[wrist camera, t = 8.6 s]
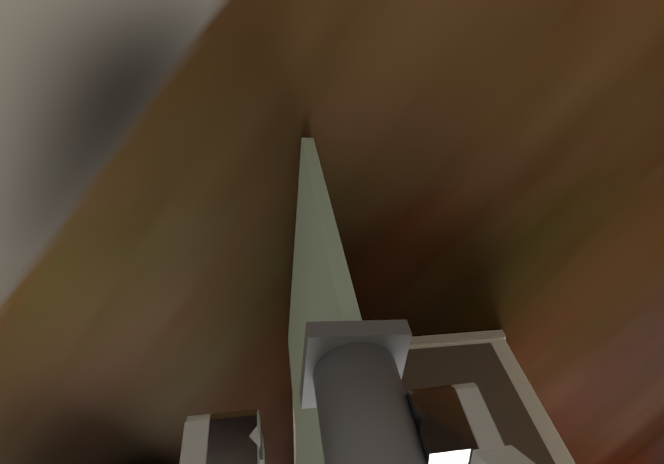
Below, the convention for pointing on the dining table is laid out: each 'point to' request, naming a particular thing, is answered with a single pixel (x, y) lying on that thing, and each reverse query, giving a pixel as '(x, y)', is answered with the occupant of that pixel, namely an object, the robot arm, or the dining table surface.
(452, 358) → the carton
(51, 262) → the dining table surface
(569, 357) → the dining table surface
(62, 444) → the dining table surface
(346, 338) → the end flap
